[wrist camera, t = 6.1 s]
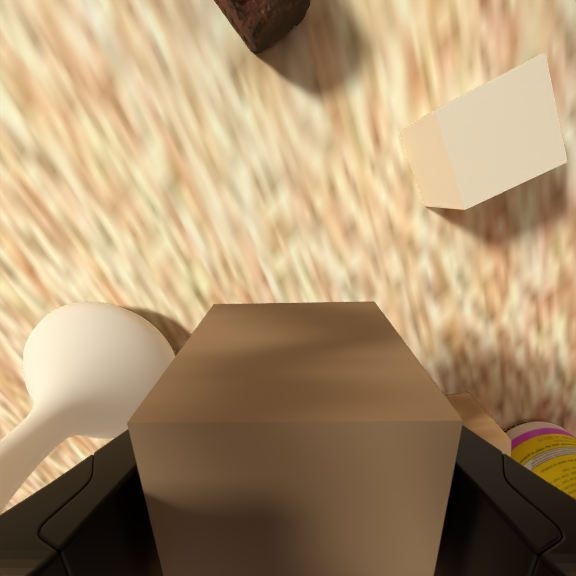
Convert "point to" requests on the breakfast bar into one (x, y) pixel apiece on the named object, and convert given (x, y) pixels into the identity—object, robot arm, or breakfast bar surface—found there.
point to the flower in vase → (81, 382)
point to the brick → (263, 19)
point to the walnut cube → (296, 447)
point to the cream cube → (487, 139)
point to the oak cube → (480, 421)
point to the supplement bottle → (546, 453)
